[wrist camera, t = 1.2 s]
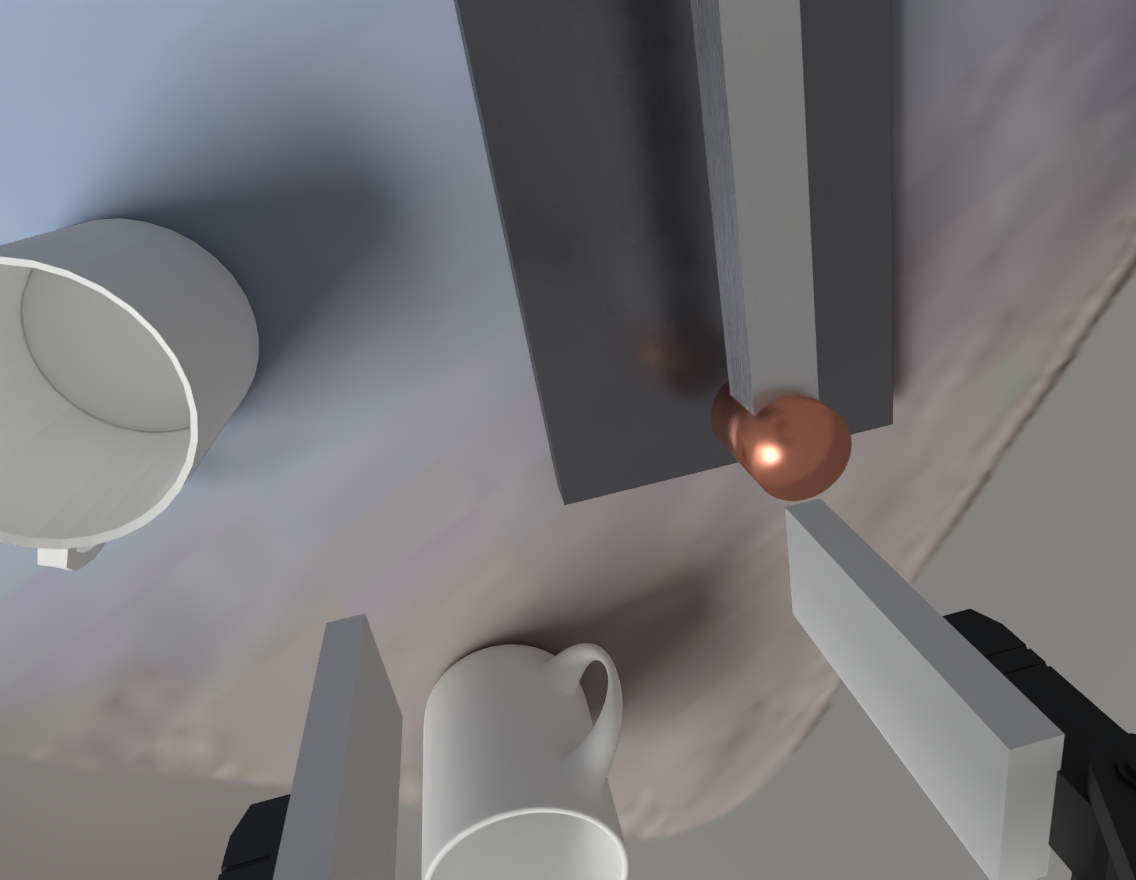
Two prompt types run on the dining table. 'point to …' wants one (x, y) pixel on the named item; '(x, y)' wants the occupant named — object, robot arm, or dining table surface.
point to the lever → (764, 246)
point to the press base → (669, 222)
